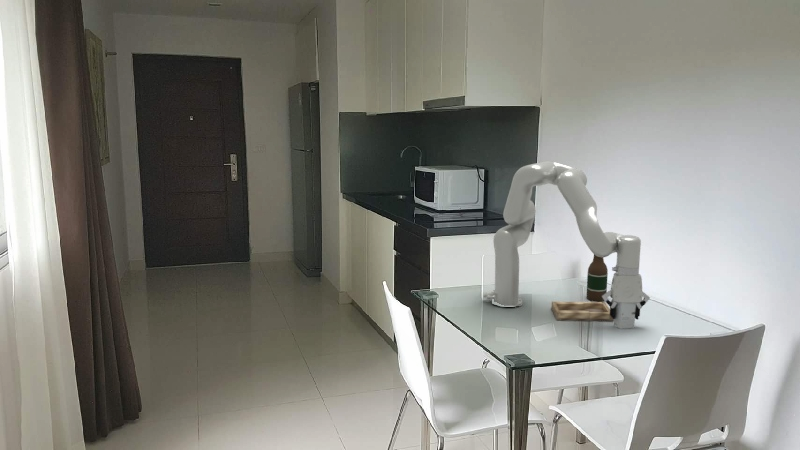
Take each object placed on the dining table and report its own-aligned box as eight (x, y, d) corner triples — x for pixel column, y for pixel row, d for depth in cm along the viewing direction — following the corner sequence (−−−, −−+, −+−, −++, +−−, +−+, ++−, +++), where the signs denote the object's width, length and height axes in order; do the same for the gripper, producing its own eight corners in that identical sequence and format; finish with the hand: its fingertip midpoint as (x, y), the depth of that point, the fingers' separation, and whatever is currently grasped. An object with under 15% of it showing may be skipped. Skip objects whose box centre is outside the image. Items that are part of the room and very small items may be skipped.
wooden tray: (556, 320, 220) (557, 312, 219) (551, 308, 232) (551, 301, 232) (614, 321, 218) (615, 313, 217) (606, 309, 230) (606, 302, 230)
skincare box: (619, 329, 210) (621, 296, 208) (612, 324, 214) (614, 293, 212) (635, 327, 211) (637, 295, 209) (627, 323, 216) (629, 291, 213)
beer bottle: (607, 302, 238) (610, 244, 233) (587, 301, 240) (590, 244, 235) (604, 296, 245) (608, 240, 241) (585, 295, 247) (588, 239, 242)
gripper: (604, 273, 206) (602, 321, 210) (656, 273, 204) (652, 322, 208) (599, 267, 213) (597, 313, 217) (649, 267, 212) (646, 314, 215)
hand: (624, 317), depth 212 cm, fingers open, 7 cm apart
